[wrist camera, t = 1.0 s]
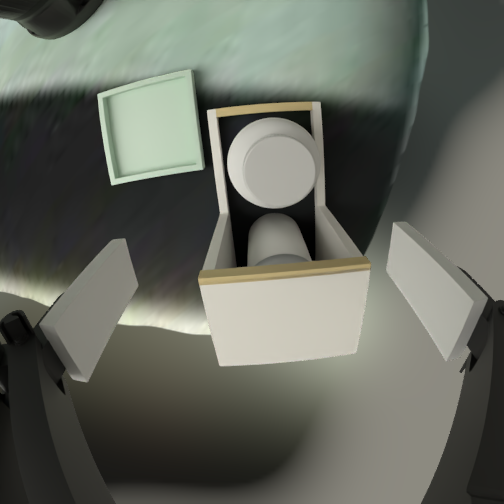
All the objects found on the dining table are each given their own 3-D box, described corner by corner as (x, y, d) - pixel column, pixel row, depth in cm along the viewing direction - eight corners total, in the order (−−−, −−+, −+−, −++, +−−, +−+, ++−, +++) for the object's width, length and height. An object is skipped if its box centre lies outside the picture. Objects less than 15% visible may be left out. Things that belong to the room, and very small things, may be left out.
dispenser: (208, 110, 30) (168, 102, 15) (317, 102, 30) (374, 90, 14) (230, 273, 40) (219, 366, 25) (321, 266, 40) (356, 353, 24)
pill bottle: (308, 130, 31) (348, 139, 18) (289, 190, 35) (312, 238, 21) (245, 111, 30) (239, 103, 17) (227, 173, 34) (210, 210, 20)
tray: (103, 94, 28) (97, 94, 27) (193, 71, 28) (190, 69, 26) (117, 182, 34) (111, 185, 32) (205, 167, 33) (202, 169, 32)
